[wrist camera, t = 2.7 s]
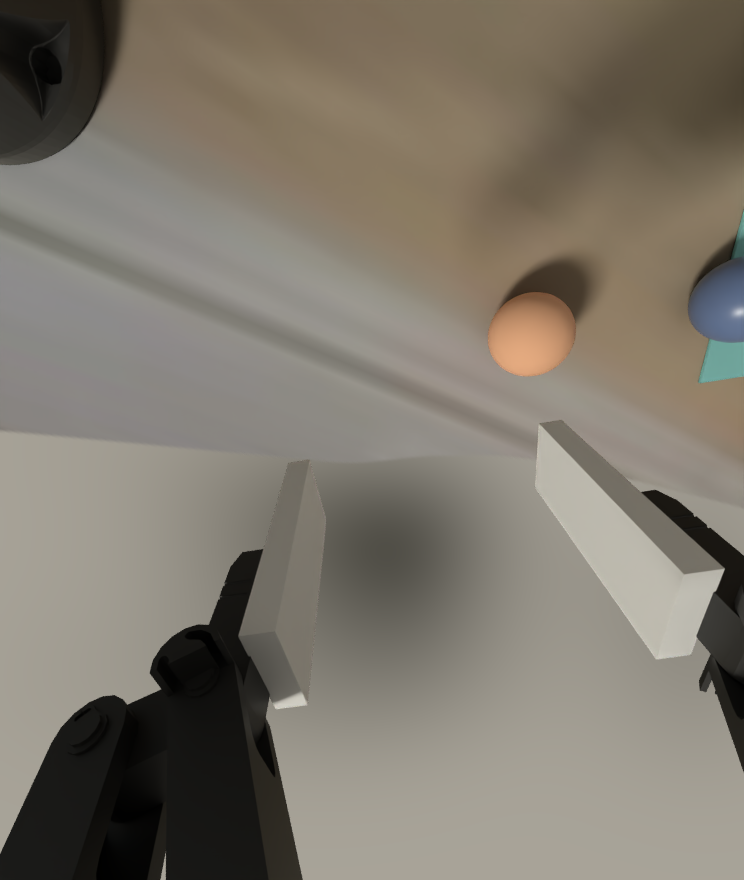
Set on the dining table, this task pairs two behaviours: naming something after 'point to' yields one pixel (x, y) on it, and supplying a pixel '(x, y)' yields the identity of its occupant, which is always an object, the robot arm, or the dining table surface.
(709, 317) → the object ball
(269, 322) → the dining table surface
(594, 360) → the dining table surface
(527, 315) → the orange sphere
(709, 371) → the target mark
